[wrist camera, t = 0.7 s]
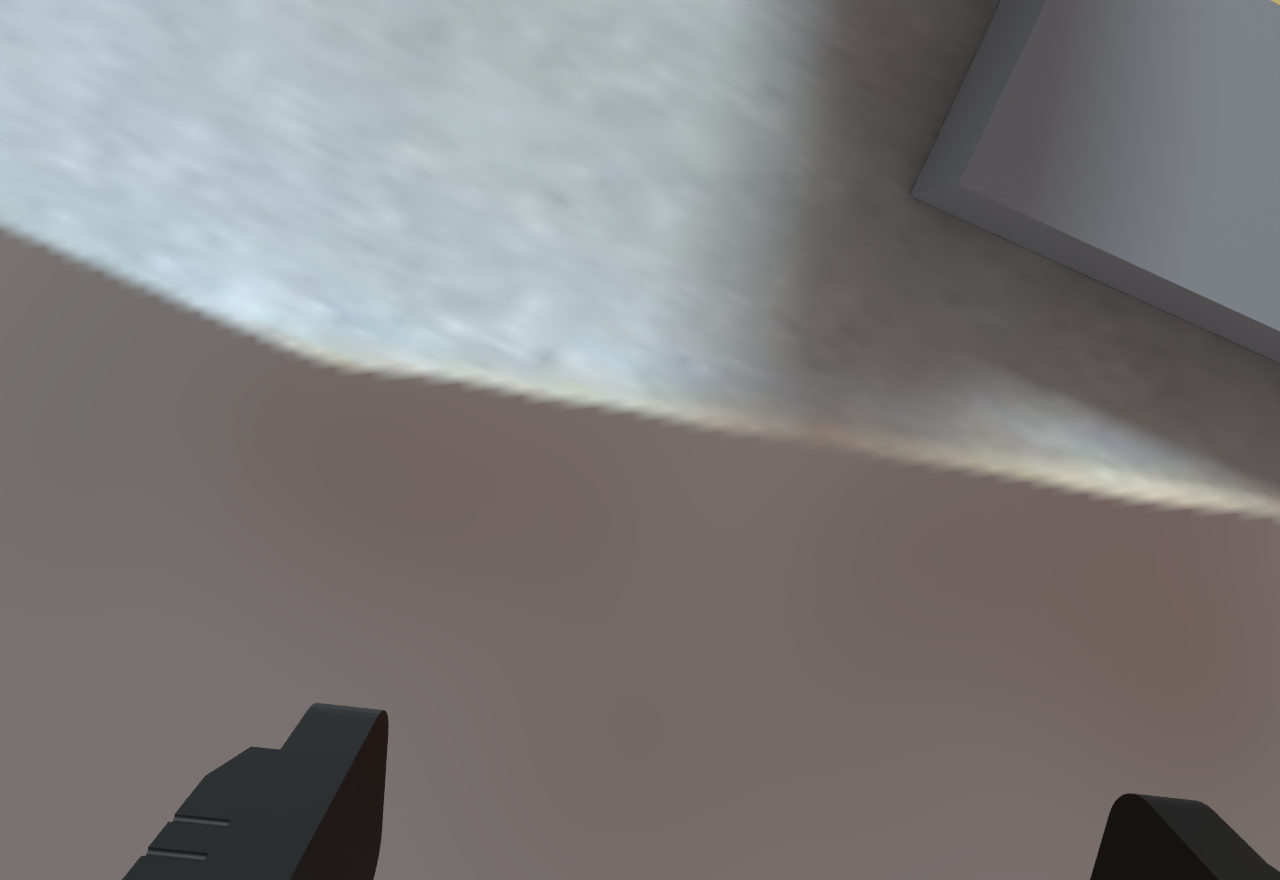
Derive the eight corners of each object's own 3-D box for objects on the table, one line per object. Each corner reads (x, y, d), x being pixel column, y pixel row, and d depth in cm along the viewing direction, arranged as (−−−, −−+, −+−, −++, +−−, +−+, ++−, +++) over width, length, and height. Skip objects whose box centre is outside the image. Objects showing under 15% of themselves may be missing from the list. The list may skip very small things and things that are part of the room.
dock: (1021, -44, 31) (1094, -101, 26) (1529, 205, 33) (1683, 196, 29) (909, 195, 33) (958, 184, 28) (1399, 417, 35) (1524, 443, 30)
